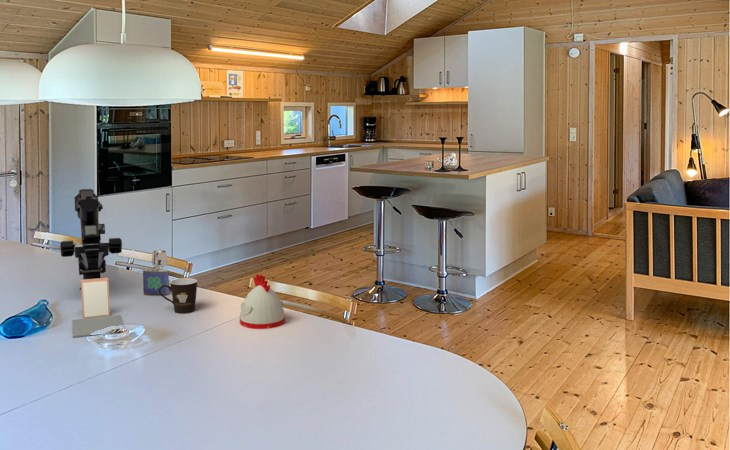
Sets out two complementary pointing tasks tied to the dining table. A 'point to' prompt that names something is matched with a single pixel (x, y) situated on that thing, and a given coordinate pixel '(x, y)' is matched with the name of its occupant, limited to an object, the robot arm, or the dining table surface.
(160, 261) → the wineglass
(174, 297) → the coffee mug
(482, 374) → the dining table surface
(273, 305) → the kitchen timer
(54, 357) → the dining table surface
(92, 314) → the tile
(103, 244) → the robot arm
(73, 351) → the dining table surface
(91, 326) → the mat
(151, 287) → the flask
